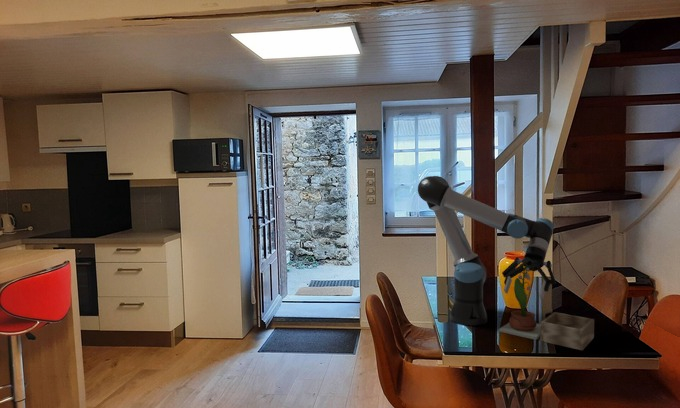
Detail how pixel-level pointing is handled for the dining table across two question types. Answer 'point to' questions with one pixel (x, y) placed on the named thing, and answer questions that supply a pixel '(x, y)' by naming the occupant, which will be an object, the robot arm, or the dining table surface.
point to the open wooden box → (567, 330)
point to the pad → (522, 331)
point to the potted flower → (522, 306)
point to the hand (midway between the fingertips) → (522, 294)
